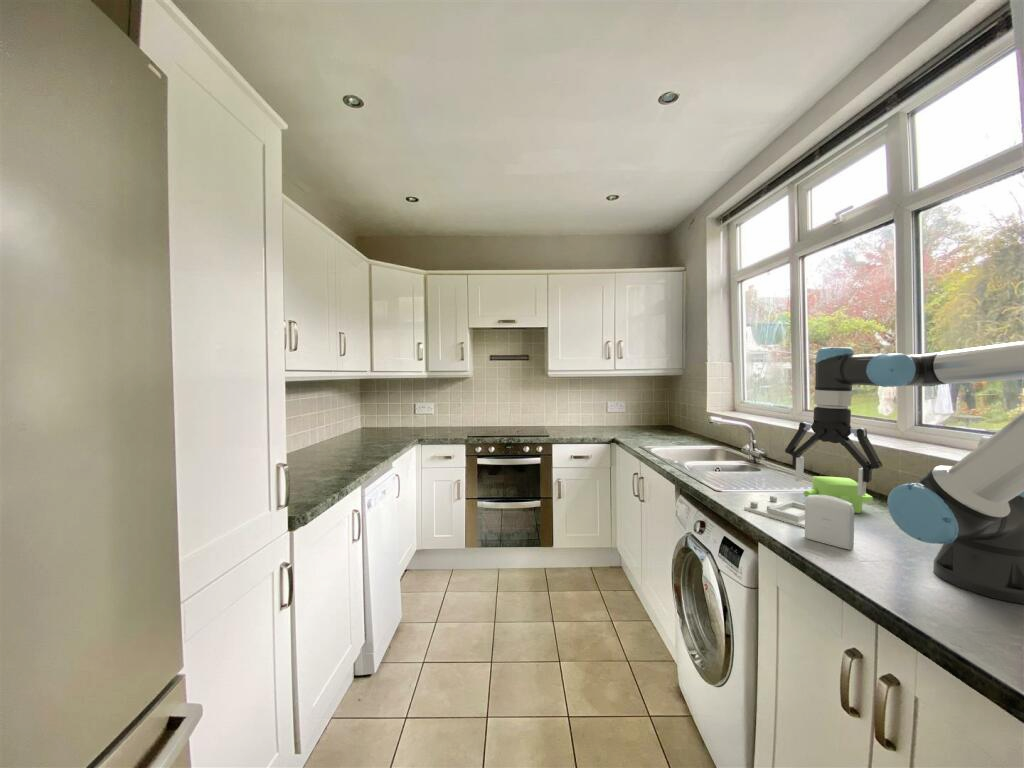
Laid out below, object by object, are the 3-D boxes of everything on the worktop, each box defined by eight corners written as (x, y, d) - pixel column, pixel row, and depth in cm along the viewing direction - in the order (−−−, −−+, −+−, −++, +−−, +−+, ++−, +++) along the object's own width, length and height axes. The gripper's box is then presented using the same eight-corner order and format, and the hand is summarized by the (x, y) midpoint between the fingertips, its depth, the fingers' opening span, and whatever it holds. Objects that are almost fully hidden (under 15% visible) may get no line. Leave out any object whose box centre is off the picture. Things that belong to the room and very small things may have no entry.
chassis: (849, 523, 117) (849, 514, 117) (824, 533, 109) (824, 525, 109) (770, 501, 136) (770, 494, 136) (744, 509, 128) (744, 502, 128)
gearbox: (808, 511, 128) (809, 483, 127) (796, 500, 137) (797, 474, 137) (876, 517, 123) (877, 487, 122) (859, 505, 132) (860, 478, 131)
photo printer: (801, 538, 106) (803, 493, 105) (806, 534, 108) (808, 490, 108) (851, 552, 98) (853, 503, 97) (855, 547, 100) (857, 499, 100)
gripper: (902, 410, 93) (898, 498, 94) (786, 402, 115) (783, 473, 116) (890, 412, 89) (886, 503, 90) (772, 403, 111) (770, 477, 112)
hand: (828, 487), depth 103 cm, fingers open, 13 cm apart
